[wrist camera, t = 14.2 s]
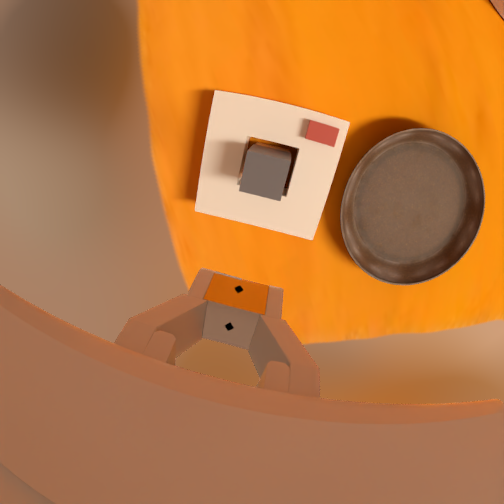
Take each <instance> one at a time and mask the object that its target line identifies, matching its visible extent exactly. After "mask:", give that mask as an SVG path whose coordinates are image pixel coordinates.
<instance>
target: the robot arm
mask: <svg viewBox="0 0 504 504" xmlns="http://www.w3.org/2000/svg"><path fill="white" fill-rule="evenodd" d="M490 1H491V2H492V4H493V5H494V7H495V8H496V10H497V11H498V12H499V14H500V15H501V16H502V17H503V19H504V0H490ZM282 302H283V289H282V288H279V287H274V286H270V285H269V286H268V285H264V284H260V283H256V282H252V281H248V280H244V279H241V278H237V277H234V276H230V275H227V274H223V273H220V272H216V271H212V270H209V269H205V268H201V269H200V270H199V272H198V274H197V276H196V278H195V280H194V282H193V284H192V286H191V288H190V290H189V292H188V294H187V295H186V294H182V295H179V296H177V297H175V298H173V299H171V300H169V301H167V302H164V303H162V304H160V305H158V306H156V307H153V308H151V309H149V310H147V311H145V312H143V313H140V314H138V315H136V316H134V317H131V318H129V320H128V321H127V323H126V325H125V326H124V328H123V330H122V331H121V333H120V334H119V336H118V337H117V339H116V341H115V342H114V343H112V342H109V341H107V340H105V339H102V338H100V337H98V336H95V335H93V334H91V333H88V332H87V331H84V330H82V329H80V328H78V327H76V326H74V325H72V324H70V323H68V322H65V321H63V320H61V319H59V318H58V317H56V316H54V315H52V314H50V313H48V312H46V311H44V310H42V309H41V308H39V307H37V306H35V305H33V304H32V303H30V302H28V301H26V300H24V299H23V298H21V297H19V296H18V295H16V294H15V293H13V292H11V291H9V290H8V289H6V288H5V287H3V286H2V285H0V504H504V403H503V402H502V401H501V400H499V399H489V400H482V401H472V402H461V403H446V404H445V403H444V404H382V403H365V402H352V401H341V400H332V399H324V398H320V376H319V368H318V366H317V365H316V363H315V362H314V361H313V359H312V358H311V356H310V355H309V353H308V352H307V351H306V349H305V348H304V346H303V345H302V344H301V342H300V341H299V339H298V338H297V336H296V335H295V334H294V332H293V331H292V329H291V328H290V327H289V325H288V324H287V322H286V321H285V320H282V319H281V315H282ZM202 338H205V339H209V340H213V341H217V342H221V343H225V342H226V343H225V344H229V345H232V346H236V347H239V348H243V349H247V350H248V352H249V354H250V357H251V359H252V361H253V363H254V366H255V368H256V370H257V373H258V375H259V377H260V381H259V382H258V384H257V387H254V386H249V385H245V384H240V383H236V382H232V381H228V380H224V379H220V378H216V377H212V376H209V375H205V374H201V373H198V372H194V371H191V370H188V369H184V368H181V367H178V366H175V358H177V357H178V356H179V355H181V354H182V353H183V352H185V351H186V350H187V349H189V348H190V347H192V346H193V345H194V344H196V343H197V342H198V341H200V340H201V339H202Z"/></svg>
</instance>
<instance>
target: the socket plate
mask: <svg viewBox="0 0 504 504" xmlns="http://www.w3.org/2000/svg"><path fill="white" fill-rule="evenodd" d="M349 124H350V122H348V121H345V120H342V119H339V118H335V117H332V116H329V115H326V114H322V113H319V112H316V111H312V110H309V109H305V108H301V107H297V106H294V105H290V104H286V103H281V102H277V101H273V100H268V99H263V98H259V97H254V96H248V95H243V94H237V93H231V92H225V91H218V90H215V92H214V97H213V102H212V107H211V112H210V117H209V123H208V128H207V134H206V140H205V145H204V151H203V158H202V164H201V170H200V177H199V184H198V191H197V198H196V205H195V211H197V212H201V213H206V214H210V215H214V216H218V217H222V218H226V219H231V220H235V221H239V222H243V223H247V224H251V225H255V226H259V227H263V228H267V229H271V230H275V231H279V232H282V233H286V234H290V235H294V236H298V237H302V238H305V239H309V240H313V237H314V234H315V232H316V229H317V226H318V223H319V220H320V217H321V214H322V211H323V208H324V205H325V202H326V199H327V196H328V193H329V190H330V187H331V184H332V181H333V178H334V174H335V171H336V168H337V165H338V161H339V158H340V155H341V152H342V148H343V145H344V141H345V138H346V135H347V131H348V128H349ZM250 137H255V138H259V139H264V140H268V141H272V142H276V143H280V144H284V145H288V146H292V147H296V148H298V149H297V153H296V157H295V161H294V164H293V168H292V172H291V176H290V179H289V183H288V187H287V189H286V188H284V190H283V193H282V197H281V201H277V200H273V199H269V198H265V197H261V196H257V195H253V194H249V193H245V192H240V191H239V188H240V183H241V177H242V172H243V168H244V163H245V158H246V154H247V149H248V144H249V140H250Z"/></svg>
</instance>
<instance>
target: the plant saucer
mask: <svg viewBox="0 0 504 504" xmlns="http://www.w3.org/2000/svg"><path fill="white" fill-rule="evenodd" d="M484 208H485V190H484V184H483V179H482V175H481V172H480V169H479V167H478V165H477V163H476V161H475V159H474V158H473V156H472V155H471V153H470V152H469V151H468V150H467V149H466V148H465V146H464V145H462V144H461V143H460V142H459V141H458V140H456V139H455V138H453V137H452V136H450V135H448V134H446V133H444V132H441V131H438V130H434V129H427V128H414V129H408V130H404V131H400V132H398V133H395V134H393V135H390V136H388V137H387V138H385V139H383V140H382V141H380V142H379V143H377V144H376V145H375V146H374V147H372V148H371V149H370V150H369V151H368V152H367V153H366V154H365V155H364V156H363V158H362V159H361V160H360V161H359V163H358V164H357V166H356V167H355V169H354V170H353V172H352V174H351V176H350V178H349V180H348V183H347V185H346V188H345V191H344V195H343V199H342V204H341V214H340V221H341V231H342V236H343V239H344V242H345V245H346V248H347V250H348V252H349V254H350V255H351V257H352V258H353V260H354V261H355V263H356V264H357V265H358V266H359V267H360V268H361V269H362V270H363V271H364V272H366V273H367V274H368V275H370V276H371V277H373V278H375V279H377V280H379V281H382V282H385V283H389V284H394V285H413V284H419V283H423V282H426V281H429V280H432V279H434V278H436V277H438V276H440V275H442V274H443V273H445V272H446V271H448V270H449V269H451V268H452V267H453V266H454V265H455V264H456V263H458V262H459V260H460V259H461V258H462V257H463V256H464V255H465V254H466V253H467V251H468V250H469V248H470V247H471V245H472V244H473V242H474V240H475V238H476V236H477V234H478V231H479V229H480V226H481V223H482V219H483V215H484Z"/></svg>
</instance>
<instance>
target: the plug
mask: <svg viewBox="0 0 504 504" xmlns="http://www.w3.org/2000/svg"><path fill="white" fill-rule="evenodd" d="M290 164H291V153H290V150H288V149H284V148H281V147H277V146H273V145H268V144H264V143H260V142H257V143H256V144H253V145H252V146H251V147H250V148H249V149H248V150H247V155H246V159H245V164H244V169H243V173H242V178H241V183H240V188H239V191H240V192H245V193H249V194H253V195H257V196H261V197H265V198H269V199H273V200H277V201H281V197H282V193H283V190H284V186H285V182H286V179H287V175H288V171H289V167H290Z"/></svg>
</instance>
